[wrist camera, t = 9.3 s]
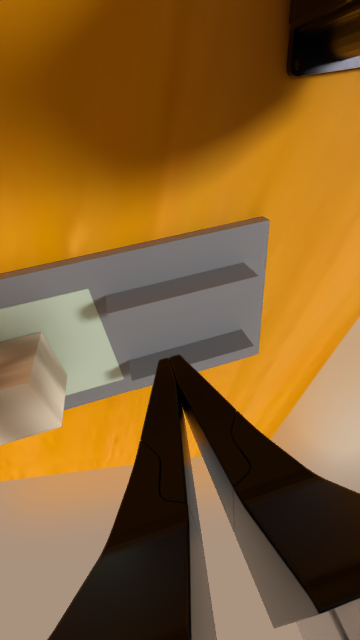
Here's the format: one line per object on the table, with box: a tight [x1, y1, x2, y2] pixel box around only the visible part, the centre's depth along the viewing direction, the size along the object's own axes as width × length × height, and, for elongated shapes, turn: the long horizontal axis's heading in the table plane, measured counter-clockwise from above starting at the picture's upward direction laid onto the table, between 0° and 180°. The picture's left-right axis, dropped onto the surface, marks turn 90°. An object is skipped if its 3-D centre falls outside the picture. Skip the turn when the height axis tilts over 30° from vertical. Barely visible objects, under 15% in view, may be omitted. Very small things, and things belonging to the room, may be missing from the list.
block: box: [0, 332, 67, 445], centre depth 19 cm, size 5×5×5 cm
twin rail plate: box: [0, 217, 270, 410], centre depth 21 cm, size 23×14×4 cm, turn 97°
